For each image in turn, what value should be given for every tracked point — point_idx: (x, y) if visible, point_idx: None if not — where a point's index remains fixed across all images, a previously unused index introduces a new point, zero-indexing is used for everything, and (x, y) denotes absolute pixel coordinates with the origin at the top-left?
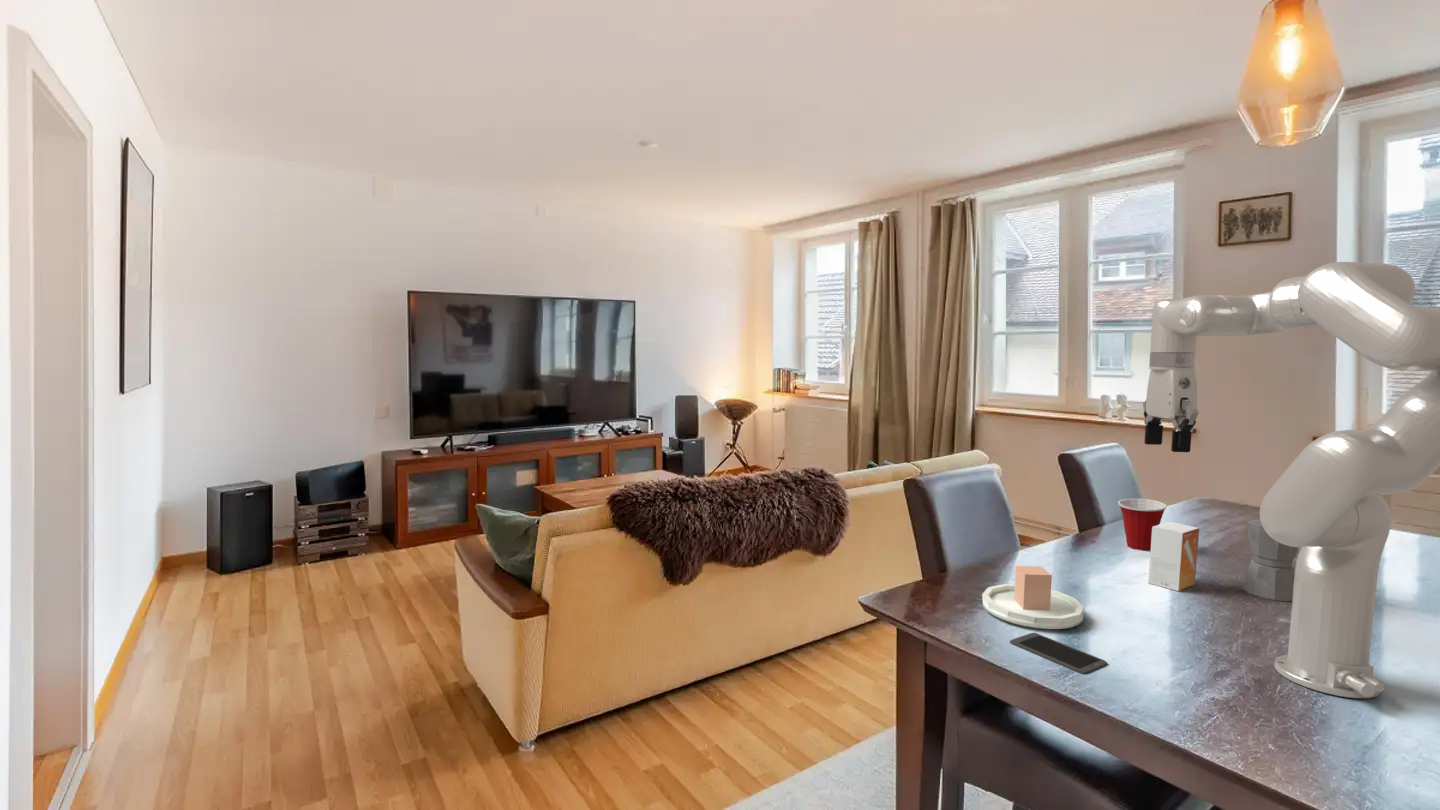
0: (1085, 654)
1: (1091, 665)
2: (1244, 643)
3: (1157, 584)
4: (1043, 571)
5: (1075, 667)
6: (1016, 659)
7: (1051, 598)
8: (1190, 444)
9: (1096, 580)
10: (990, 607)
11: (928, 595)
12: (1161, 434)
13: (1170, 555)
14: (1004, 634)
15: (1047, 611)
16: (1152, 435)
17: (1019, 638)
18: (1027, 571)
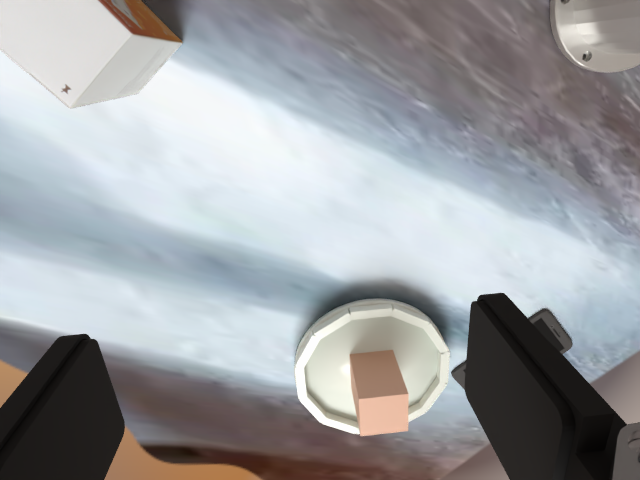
0: None
1: (555, 332)
2: (473, 56)
3: (150, 78)
4: (387, 401)
5: (561, 351)
6: None
7: (335, 335)
8: (531, 324)
9: (154, 207)
10: None
11: (317, 473)
12: (53, 405)
13: (141, 61)
14: (453, 404)
15: (397, 354)
16: (83, 459)
17: None
18: (390, 424)
